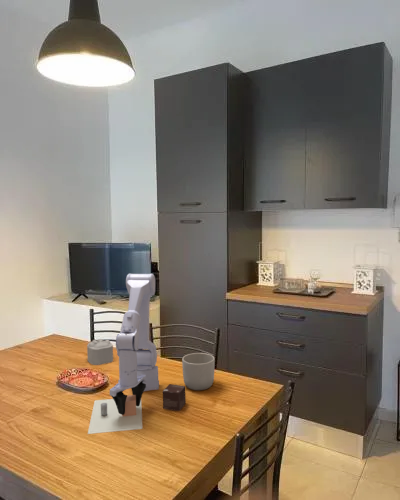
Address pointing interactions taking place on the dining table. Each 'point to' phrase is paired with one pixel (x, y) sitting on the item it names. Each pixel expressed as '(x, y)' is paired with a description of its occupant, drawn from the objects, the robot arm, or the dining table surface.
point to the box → (174, 397)
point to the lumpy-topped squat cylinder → (100, 352)
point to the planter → (198, 370)
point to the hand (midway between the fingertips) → (129, 409)
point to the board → (112, 418)
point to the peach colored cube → (130, 405)
